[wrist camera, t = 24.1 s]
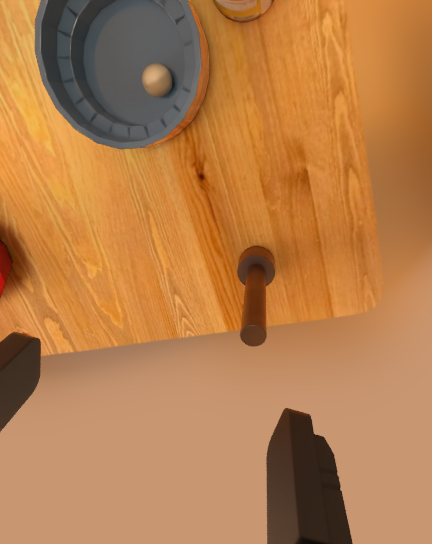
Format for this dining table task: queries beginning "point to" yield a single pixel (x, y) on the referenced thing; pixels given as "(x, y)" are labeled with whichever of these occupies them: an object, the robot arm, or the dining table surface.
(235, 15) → the pill bottle
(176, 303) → the dining table surface
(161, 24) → the bowl
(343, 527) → the robot arm
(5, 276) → the red jar
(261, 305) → the masher
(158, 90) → the bead
